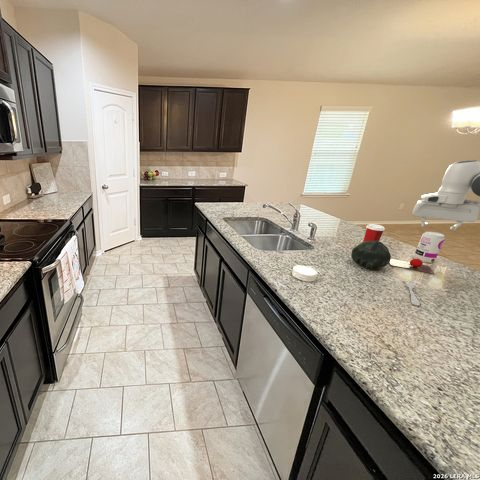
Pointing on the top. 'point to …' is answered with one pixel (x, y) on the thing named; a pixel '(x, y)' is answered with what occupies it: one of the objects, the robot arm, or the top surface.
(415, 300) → the fork
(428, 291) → the top surface
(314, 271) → the coaster
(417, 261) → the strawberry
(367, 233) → the coffee cup
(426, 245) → the supplement can
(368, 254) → the squash
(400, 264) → the serving board
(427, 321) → the top surface
